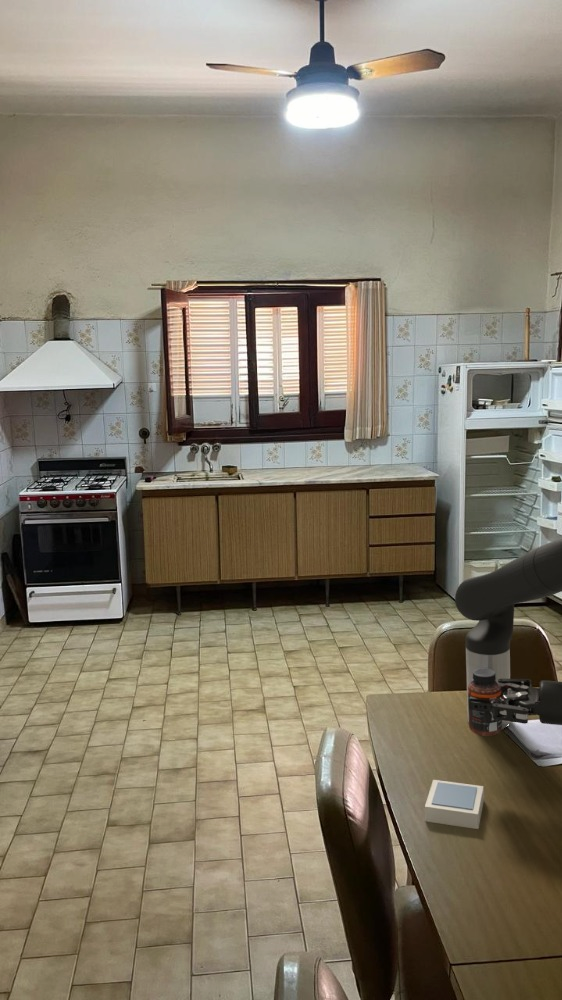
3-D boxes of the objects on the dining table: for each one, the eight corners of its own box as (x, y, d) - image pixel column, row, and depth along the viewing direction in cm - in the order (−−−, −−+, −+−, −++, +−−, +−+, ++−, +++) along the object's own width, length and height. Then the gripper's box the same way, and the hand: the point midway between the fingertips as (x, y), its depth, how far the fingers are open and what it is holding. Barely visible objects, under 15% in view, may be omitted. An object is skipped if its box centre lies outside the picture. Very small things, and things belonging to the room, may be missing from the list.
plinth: (433, 793, 139) (433, 778, 139) (483, 800, 136) (483, 785, 135) (425, 821, 131) (424, 805, 130) (478, 829, 128) (477, 813, 127)
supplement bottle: (503, 738, 136) (502, 679, 134) (469, 737, 137) (467, 678, 135) (500, 722, 141) (499, 666, 139) (468, 722, 143) (466, 665, 141)
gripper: (567, 668, 139) (474, 661, 145) (567, 701, 126) (465, 692, 132) (567, 706, 140) (475, 698, 146) (568, 742, 127) (466, 732, 133)
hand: (471, 695), depth 139 cm, fingers closed on supplement bottle, 6 cm apart
